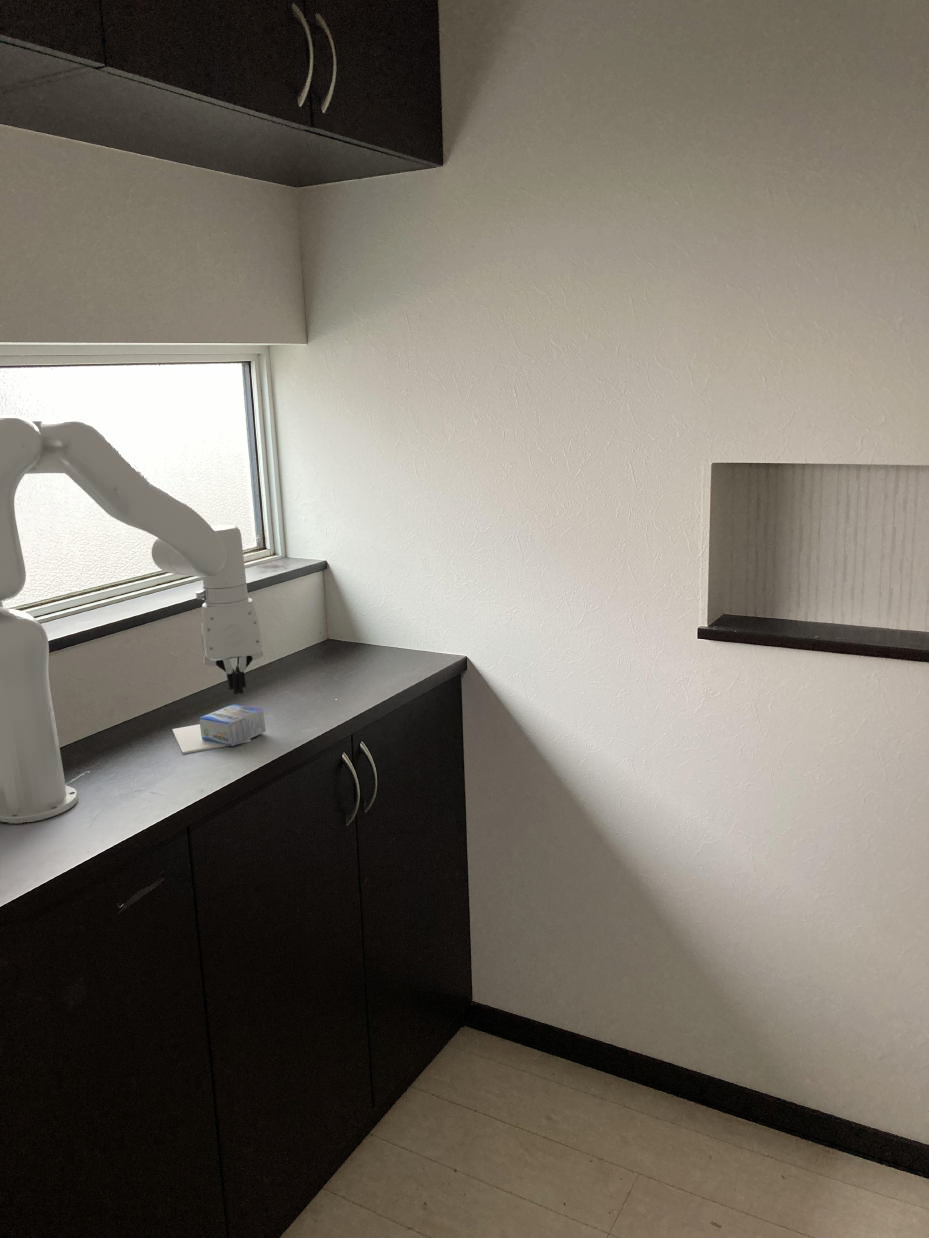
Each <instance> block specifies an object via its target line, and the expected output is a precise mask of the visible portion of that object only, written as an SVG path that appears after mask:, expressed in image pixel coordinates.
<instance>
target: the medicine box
mask: <svg viewBox="0 0 929 1238" xmlns="http://www.w3.org/2000/svg"><path fill="white" fill-rule="evenodd" d="M265 722H266V721H265V715H264V709H263V708H257V707H252V706H245V705H239V704H234V703H233V704H230V705H228V706H225V707H223V708H220V709H218V710H216V711H212V712H210V713H208V714H205V715H203V716H201V717H199V724H200V730H201V736H202V740H207V741H211V742H216V743H221V744H226V745H230V746H232V747H234V746H236V745H240V744H239V743H241V742H243V741H246V740H248V739H252V738H255V737H257V736H258V735H260V734H263V733H265V732H266V723H265ZM241 744H242V743H241Z"/></svg>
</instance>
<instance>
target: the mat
mask: <svg viewBox="0 0 929 1238" xmlns="http://www.w3.org/2000/svg"><path fill="white" fill-rule="evenodd" d="M172 732H173V735H174V738H175V739H176V742H177V745H178V747H179V750H180V751H181V753H182V755H186V754H191V753H197V752H202V751H207V750H214V749H219V748H224V747H229V746H230V745H226V744H221V743H216V742H211V741H207V740H202V736H201V730H200V723H199V724H194V725H189V726H183V727H178V728H172ZM250 742H252V738H250V739H248V740H246V741H243V742H241V743H239V744H238V745H240V744H245V743H250Z"/></svg>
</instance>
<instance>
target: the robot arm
mask: <svg viewBox="0 0 929 1238" xmlns="http://www.w3.org/2000/svg"><path fill="white" fill-rule="evenodd" d="M28 474H29V475H31V474H32V475H33V474H36V475H37V474H65V475H66V476H68V477H69V479H71V480H72V481H73V482H74V483H75V484H76V485H77V486H78V487H80V489H81V490H82V491H84V493H86V494H87V495H88V496H89V497H90V498H91V499H92V500H93V501H94V502H95V503H96V504H97V505H98V506H99V507H100V508H101V509H102V510H103V511H104V512H105V513H106V514H108V515H109V516H110V517H111V518H113V519H115V520H117V521H118V522H121V523H123V524H126V525H127V526H130V527H133V528H135V529H138V530H141V531H144V532H146V533H147V534H150V535H152V536H154V537H156V540H155V541H154V542H153V544H152V547H151V558H152V560H153V563H154V564H155V566H156V567H157V568H159V569H160V570H161V571H164V572H166V573H168V574H172V575H179V576H180V575H181V576H192V577H197V578H202V583H203V584H202V585H203V586H202V589H201V590H199V591H196V592H195V597H196V600H203V601H204V602H203V603H202V605H201V617H200V618H201V622H200V625H201V641H202V650H203V653H204V654H203V660H202V662H203V664H204V666H208V667H209V666H210V667H218V668H220V669H221V670H222V671H224V672H225V673H226V681H227V688H228V690H229V691H230V690H231V692H232V693H233V695H238V694H240V695H242V694H244V688H246V687H247V685H246V677H245V675H246V674H245V672H246V670H247V668H248V666H250V664H251V663H252V661H255V660H257V659H261V658H262V657H263V656H264V652H263V643H262V642H263V640H262V634H261V628H260V623H259V618H258V613H257V609H256V606H255V602H254V600H253V598H251V597H249V596H248V595H249V594H248V593H249V592H248V587H247V586H248V585H247V584H248V583H247V577H246V568H245V567H246V566H245V557H244V550H243V548H244V547H243V540H242V533H241V530H240V529H239V527H237V526H236V525H233V524H218V525H217V524H216V525H210V524H209V523H208V521H206V520H205V519H204V518H203V517H202V516H201V515H200V514H199V513H198V512H196V511H195V510H194V509H193V508H192V507H190V506H189V505H187V504H186V503H185V502H183V501H181V500H180V499H178V498H177V497H175V496H174V495H172V494H171V493H169V492H168V491H166V490H165V489H164V488H163V487H161V486H160V485H157V484H156V483H154V482H152V481H151V480H150V479H148V478H147V477H146V476H145V474H143V473H142V471H140V470H139V468H138V467H136V466H135V465H134V464H133V463H132V461H130V460H129V459H128V457H127V456H125V454H124V453H123V452H122V451H121V450H120V449H119V448H118V447H117V446H116V445H115V444H114V443H113V442H112V441H111V440H110V439H109V438H108V437H107V436H106V435H105V434H104V433H103V431H101V430H100V429H99V427H97V426H95V425H94V424H93V423H91V422H89V421H88V420H85V419H80V418H63V419H62V418H61V419H60V418H59V419H38V420H37V419H35V420H33V419H31V420H29V419H27V418H25V417H22V416H18V415H17V416H16V415H8V414H7V415H0V821H2V822H9V823H8V824H26V823H25V822H27V823H32V822H37V821H42V820H47V819H48V818H50V819H51V817H56V816H57V815H60V814H62V813H64V812H67V811H68V810H69V809H71V808H73V806H74V805H76V804H77V802H78V800H79V795H78V794H79V793H78V791H77V790H76V788H74V787H72V786H68V785H66V781H65V774H64V768H63V761H62V756H61V754H62V753H61V750H60V749H61V748H60V743H59V737H58V730H57V724H56V718H55V712H54V707H53V701H52V694H51V687H50V686H51V685H50V678H49V677H50V676H49V674H50V673H49V660H50V659H49V657H50V656H49V655H50V648H49V645H50V644H49V639H48V635H47V632H46V629H45V628H44V627H43V625H42V623H40V622H39V620H38V619H36V618H35V617H34V616H32V615H30V614H29V613H27V612H25V611H22V610H18V609H13V608H8V607H4V604H3V602H5V601H9V600H13V598H16V597H17V596H18V595H19V594H20V593H21V592H22V590H23V589H24V587H25V583H26V580H27V579H26V578H27V572H26V566H25V561H24V556H23V550H22V545H21V540H20V535H19V531H18V529H19V528H18V525H17V519H16V517H17V516H16V511H15V496H16V493H17V489H18V487H19V484H20V483H21V480H23V478H24V476H25V475H28ZM232 659H236V666H235V669H234V668H233V666H232V662H231V660H232ZM2 822H1V823H2ZM23 822H24V823H23Z"/></svg>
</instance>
